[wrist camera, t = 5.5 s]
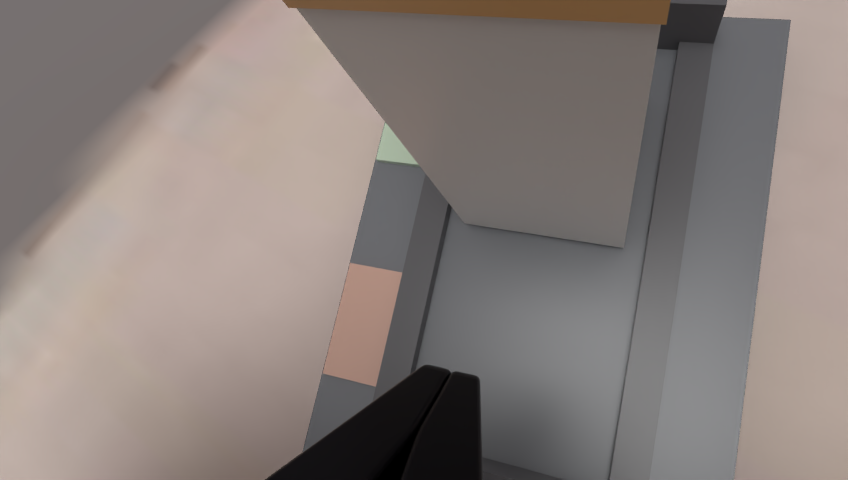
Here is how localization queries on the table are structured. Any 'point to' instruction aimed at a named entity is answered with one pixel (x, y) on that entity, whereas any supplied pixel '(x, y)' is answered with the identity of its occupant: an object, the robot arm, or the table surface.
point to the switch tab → (509, 101)
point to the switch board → (587, 285)
